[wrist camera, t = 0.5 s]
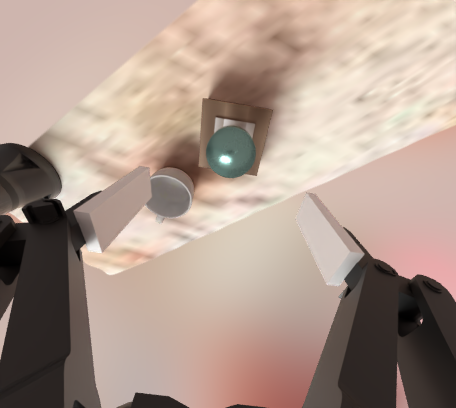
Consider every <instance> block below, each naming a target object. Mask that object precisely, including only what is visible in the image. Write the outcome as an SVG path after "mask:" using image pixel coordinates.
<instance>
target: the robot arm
mask: <svg viewBox="0 0 456 408" xmlns="http://www.w3.org/2000/svg"><path fill="white" fill-rule="evenodd" d="M60 191H61V182H60V179H59V176H58V174H57V172H56V171H55V169H54V168H53V167H52V166H51V164H50V163H49V162H48V161H47V160H46V159H45V158H43V157H42V156H41V155H40V154H38V153H37V152H35V151H33V150H32V149H30V148H28V147H25V146H22V145H19V144H14V143H6V144H1V145H0V320H1V318H2V316H3V314H4V313H5V311H6V309H7V307H8V306H9V304H10V302H11V300H12V299H13V297H14V299H13V304H12V308H11V313H10V318H9V322H8V327H7V332H6V337H5V341H4V346H3V350H2V355H1V360H0V408H101V404H100V399H99V395H98V391H97V388H96V384H95V376H94V367H93V356H92V347H91V338H90V328H89V318H88V309H87V298H86V289H85V280H84V270H83V260H82V252H81V250H80V248H81V247H82V246H83V245H84V244H86V246H87V249H88V251H91V252H99V253H102V252H103V251H104V250H105V249H106V248H107V247H108V246H109V245H110V243H111V242H112V241H113V240H114V239H115V238H116V237H117V236H118V234H119V233H120V232H121V231H122V230H123V229H124V228H125V227H126V225H127V224H128V223H129V222H130V221H131V220H132V219H133V218H134V216H135V215H136V214H137V213H138V212H139V211H140V210H141V209H142V207H143V206H144V205H145V204H146V203H147V202H148V201H149V200H150V198H151V197H152V193H151V182H150V171H149V167H143V166H139V167H138V168H136V169H135V170H133V171H132V172H130V173H129V174H127V175H126V176H124V177H123V178H121V179H120V180H118V181H117V182H115V183H114V184H112V185H111V186H109V187H108V188H106V189H105V190H103V191H98V192H96V193H93V194H91V195H89V196H88V197H86V198H85V199H83V200H82V201H80V202H78V203H77V204H75V205H74V206H72V207H71V208H69V209H68V210H66V211H65V210H64V208H63V205H62V203H61V201H60V200H57V199H53V198H55V197H57V196H58V195H59V193H60ZM20 207H23V208H22V211H23V213H24V215H25V217H26V218H27V220H28V222H29V223H15V222H14V221H13V219H12V218H11V217H10V216H8V215H4V214H6V213H8V212H10V211H12V210H14V209H17V208H20ZM295 220H296V222H297V224H298V226H299V228H300V230H301V232H302V234H303V236H304V239H305V241H306V243H307V245H308V247H309V249H310V251H311V253H312V255H313V257H314V259H315V261H316V264H317V265H318V268H319V270H320V272H321V274H322V276H323V278H324V280H325V282H326V284H327V285H333V286H340V284H341V283H342V282H343V281H344V280H345V282H346V283H347V285H348V286H347V287H346V289H345V290H344V291H343V292H342V293H341V295H340V296H339V298H341V297H342V298H341V301H340V304H339V307H338V310H337V312H336V315H335V318H334V321H333V324H332V326H331V329H330V332H329V335H328V337H327V340H326V343H325V346H324V349H323V351H322V354H321V357H320V360H319V363H318V365H317V368H316V371H315V374H314V377H313V380H312V382H311V385H310V388H309V391H308V393H307V396H306V399H305V402H304V404H303V407H302V408H396V385H397V383H396V382H397V363H398V366H399V370H400V375H401V379H402V382H403V386H404V391H405V395H406V399H407V402H408V406H409V408H456V302H455V300H454V299H453V297H452V296H451V294H450V293H449V292H448V290H447V289H446V288H444V287H443V286H442V285H441V284H440V283H438V282H436V280H434V279H431V278H429V277H427V276H423V275H416V276H415V277H414V278H413V279H411V280H410V279H407V278H404V277H402V276H399V275H398V273H397V272H396V271H395V270H394V269H393V268H392V267H391V266H390V265H388V264H387V263H385V262H383V261H380V260H378V259H373V257H372V256H371V255H370V254H369V253H368V252H367V250H366V249H365V248H364V247H363V246H362V245H361V244H360V242H359V241H358V240H357V239H356V238H355V237H354V235H353V234H352V233H351V232H350V231H348V230H347V229H346V228H344V227H342V226H341V225H340V224H339V222H338V221H337V220H336V218H335V217H334V216H333V215H332V214H331V212H330V211H329V210H328V209H327V208H326V206H325V205H324V204H323V203H322V201H321V200H320V199H319V198H318V196H317V195H316V194H313V193H306V195H305V198H304V200H303V202H302V204H301V206H300V209H299V211H298V213H297V216H296V218H295ZM421 319H423V322H422V324H421V322H420V320H421ZM117 408H189V407H187V406H185V405H183V404H182V403H180V402H178V401H176V400H175V399H173V398H171V397H169V396H161V395H152V394H144V393H135V396H134V399H133V402H129V403H126V404H124V405H121V406H119V407H117ZM227 408H265V407H257V406H248V405H239V404H237V405H233V406H230V407H227Z"/></svg>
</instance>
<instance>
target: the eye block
mask: <svg viewBox="0 0 456 408" xmlns="http://www.w3.org/2000/svg"><path fill="white" fill-rule="evenodd" d="M272 112H273V110H270V109H266V108H260V107H254V106H248V105H243V104H237V103H231V102H225V101H219V100H213V99H204V98H203V102H202V119H201V135H200V152H199V167H203V168H210V169H211V167H210V166H209V164H208V161H207V158H206V147H207V144H208V142H209V140H210V138H211V137H212V135H213V134H214V133H215V132H216V131H217V130H218V129H220V128H222V127H224V126H229V125H234V126H239V127H241V128H243V129H245V130H246V131H247V132H248V133H249V134H250V136H251V137H252V139H253V142H254V145H255V148H256V157H255V161H254V164H253V166H252V167H251V168H250V170H249V171H248V172H246V173H245V174H248V175H255V176H257V172H258V168H259V164H260V160H261V156H262V152H263V148H264V144H265V140H266V136H267V132H268V128H269V124H270V120H271V116H272Z"/></svg>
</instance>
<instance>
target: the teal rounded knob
mask: <svg viewBox="0 0 456 408" xmlns="http://www.w3.org/2000/svg"><path fill="white" fill-rule="evenodd" d="M255 157H256V148H255V145H254V142H253V139H252V137H251V136H250V134H249V133H248V132H247V131H246V130H245V129H243V128H241V127H239V126H234V125H229V126H224V127H222V128H220V129H218V130H217V131H216V132H215V133H214V134H213V135H212V137H211V138H210V140H209V142H208V144H207V147H206V158H207V161H208V164H209V166H210V167H211V169H212V170H213V171H214V172H216V173H217V174H218V175H220V176H223V177H226V178H236V177H239V176H242V175H244V174H245V173H246V172H248V171H249V170H250V168H251V167H252V166H253V164H254V161H255Z"/></svg>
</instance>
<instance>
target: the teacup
mask: <svg viewBox="0 0 456 408" xmlns="http://www.w3.org/2000/svg"><path fill="white" fill-rule="evenodd" d="M150 182H151V193H152V197H151V198H150V200H149V201H148V202H147V203H146V204H145V206H146V207H147V208H148V209H149V210H150V211H152V212H153V213H155V214H156V215H157V217H156V222H157V223H159V224H161V223H162V222H163V220H164V218H177V217H181V216H183V215H184V214H186V213H187V212H188V211H189V209H190V208H191V205H192V199H193V195H194V185H193V182H192V180H191V178H190V177H189V176H188V175H187V174H186V173H185V172H183V171H182V170H180V169H177V168H171V167H168V168H163V169H160V170H158V171H157V172H155V173H154V174H153V175H152V176H151V177H150Z"/></svg>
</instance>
